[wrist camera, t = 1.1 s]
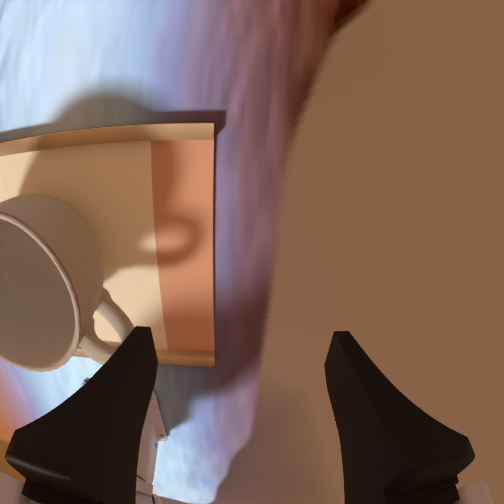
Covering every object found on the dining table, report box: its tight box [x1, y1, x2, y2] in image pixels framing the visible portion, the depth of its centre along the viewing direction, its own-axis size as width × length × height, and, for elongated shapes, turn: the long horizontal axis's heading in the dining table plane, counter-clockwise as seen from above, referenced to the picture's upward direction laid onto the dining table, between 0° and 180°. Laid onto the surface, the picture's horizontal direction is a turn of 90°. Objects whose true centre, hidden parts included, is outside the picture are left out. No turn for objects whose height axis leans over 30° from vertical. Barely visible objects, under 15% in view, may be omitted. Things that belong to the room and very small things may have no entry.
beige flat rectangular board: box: [0, 123, 215, 366], centre depth 21 cm, size 19×33×1 cm, turn 87°
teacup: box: [0, 194, 134, 372], centre depth 18 cm, size 14×11×8 cm
